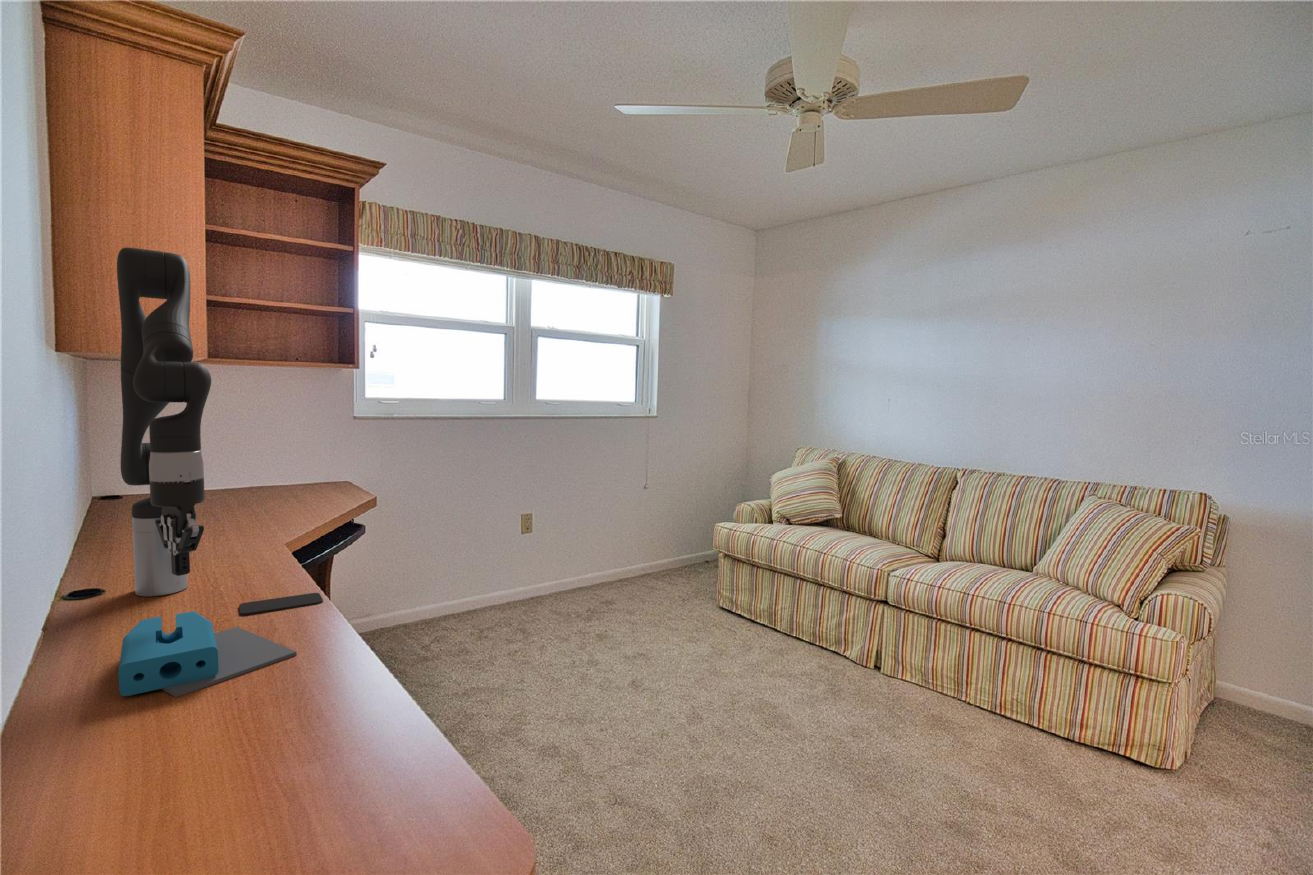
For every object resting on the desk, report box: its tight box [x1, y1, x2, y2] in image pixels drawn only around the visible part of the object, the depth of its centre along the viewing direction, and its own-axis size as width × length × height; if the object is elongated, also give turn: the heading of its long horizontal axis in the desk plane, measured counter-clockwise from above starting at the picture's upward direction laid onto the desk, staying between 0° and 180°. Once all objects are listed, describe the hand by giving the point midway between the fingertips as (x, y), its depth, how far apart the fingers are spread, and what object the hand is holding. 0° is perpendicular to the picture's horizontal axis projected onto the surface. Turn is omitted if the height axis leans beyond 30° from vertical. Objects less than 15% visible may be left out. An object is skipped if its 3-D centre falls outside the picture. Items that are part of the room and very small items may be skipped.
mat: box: [161, 626, 298, 698], centre depth 106 cm, size 20×18×1 cm
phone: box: [238, 592, 324, 617], centre depth 133 cm, size 7×1×15 cm
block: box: [118, 611, 219, 697], centre depth 103 cm, size 12×5×20 cm
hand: (181, 574), depth 110 cm, fingers closed
